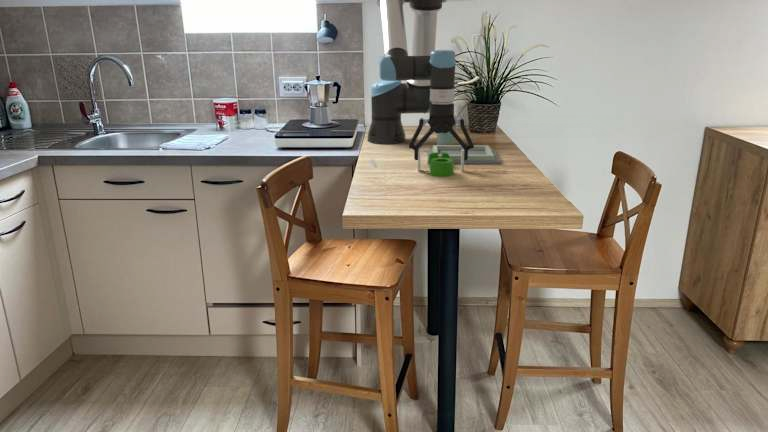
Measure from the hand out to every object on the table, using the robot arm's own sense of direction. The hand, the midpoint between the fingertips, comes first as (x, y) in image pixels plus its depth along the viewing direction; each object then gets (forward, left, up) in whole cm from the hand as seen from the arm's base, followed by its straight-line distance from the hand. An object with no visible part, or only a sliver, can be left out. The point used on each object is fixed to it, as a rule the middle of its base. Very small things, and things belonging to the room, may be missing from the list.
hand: (440, 170), depth 185 cm
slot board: (+8, +19, 0) cm, 21 cm away
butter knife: (-20, +2, -1) cm, 20 cm away
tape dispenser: (0, 0, -1) cm, 1 cm away
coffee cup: (+3, +36, 0) cm, 36 cm away
